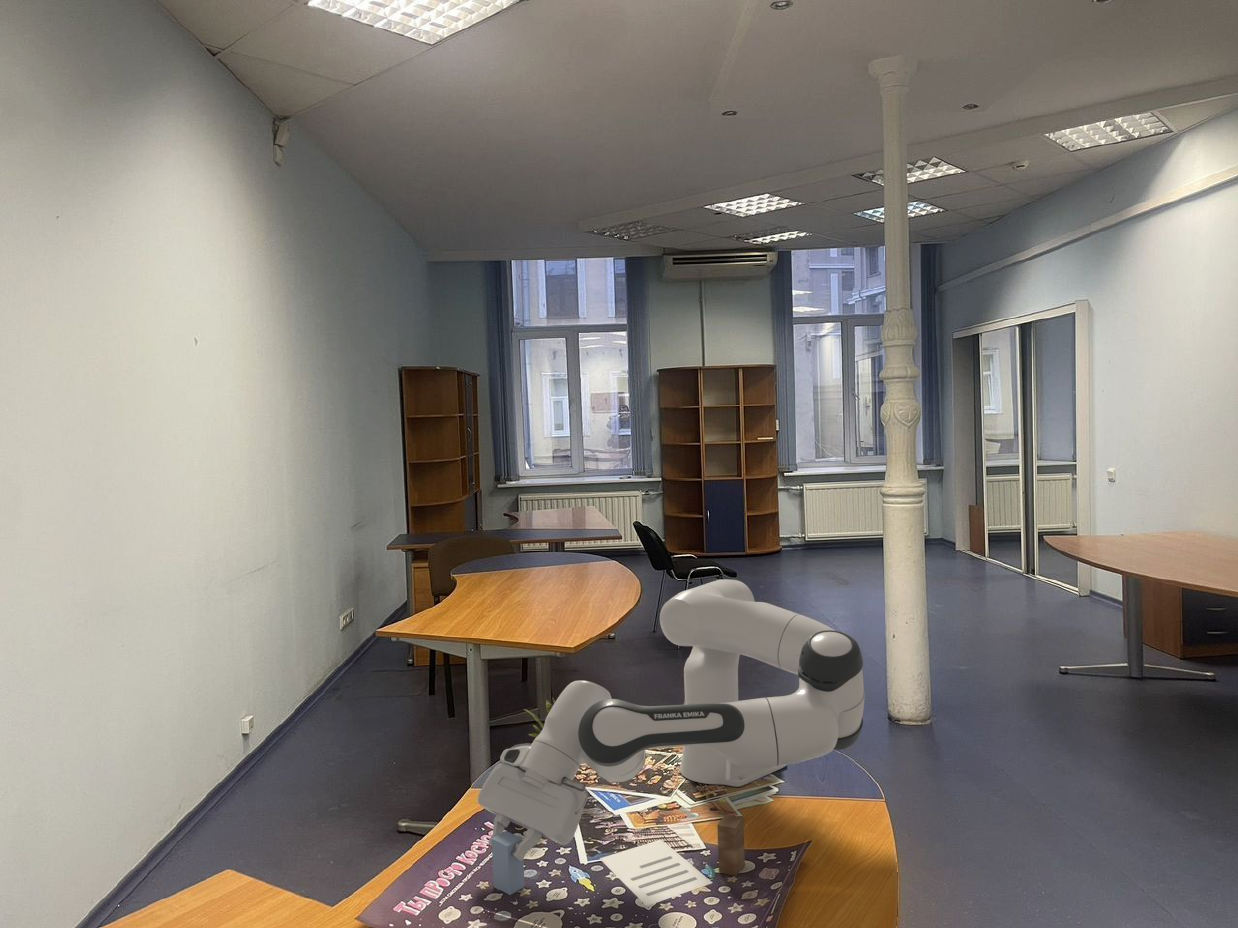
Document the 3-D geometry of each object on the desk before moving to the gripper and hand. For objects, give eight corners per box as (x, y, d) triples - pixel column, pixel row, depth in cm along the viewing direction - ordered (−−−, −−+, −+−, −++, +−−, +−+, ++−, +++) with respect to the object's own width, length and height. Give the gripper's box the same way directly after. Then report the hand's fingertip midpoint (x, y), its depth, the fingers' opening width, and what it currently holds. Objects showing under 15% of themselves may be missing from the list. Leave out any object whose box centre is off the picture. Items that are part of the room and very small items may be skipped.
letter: (661, 840, 144) (661, 838, 144) (712, 883, 130) (712, 882, 130) (599, 859, 139) (599, 858, 139) (646, 906, 125) (646, 905, 125)
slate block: (508, 878, 134) (506, 830, 134) (524, 887, 131) (522, 838, 131) (493, 887, 132) (491, 838, 131) (510, 896, 129) (507, 846, 129)
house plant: (611, 775, 172) (608, 698, 171) (561, 798, 162) (557, 716, 161) (565, 757, 182) (562, 684, 181) (515, 778, 172) (512, 701, 171)
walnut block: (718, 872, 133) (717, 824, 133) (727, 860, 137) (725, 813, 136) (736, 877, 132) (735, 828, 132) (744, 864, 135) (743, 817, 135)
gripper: (602, 796, 132) (560, 882, 125) (518, 764, 146) (476, 840, 139) (581, 778, 129) (537, 866, 122) (497, 747, 142) (453, 824, 136)
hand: (504, 852), depth 131 cm, fingers closed on slate block, 4 cm apart
